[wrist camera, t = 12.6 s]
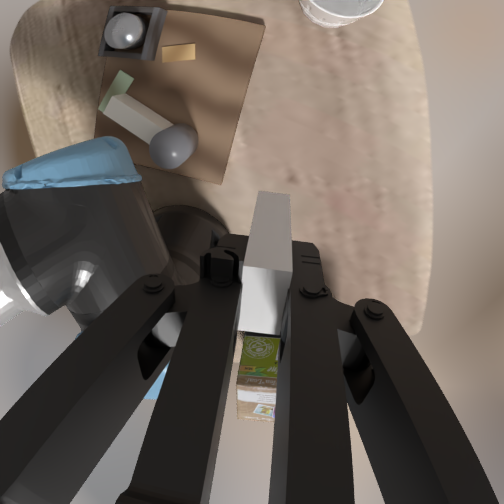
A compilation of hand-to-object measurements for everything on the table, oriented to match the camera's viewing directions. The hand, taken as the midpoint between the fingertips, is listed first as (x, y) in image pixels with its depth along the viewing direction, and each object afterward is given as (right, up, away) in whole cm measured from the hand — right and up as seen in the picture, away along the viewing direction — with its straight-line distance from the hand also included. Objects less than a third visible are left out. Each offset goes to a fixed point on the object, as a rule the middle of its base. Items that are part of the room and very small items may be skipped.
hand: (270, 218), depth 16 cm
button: (-15, +24, +13) cm, 31 cm away
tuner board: (-11, +18, +19) cm, 28 cm away
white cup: (+8, +27, +12) cm, 31 cm away
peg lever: (-12, +14, +20) cm, 27 cm away
